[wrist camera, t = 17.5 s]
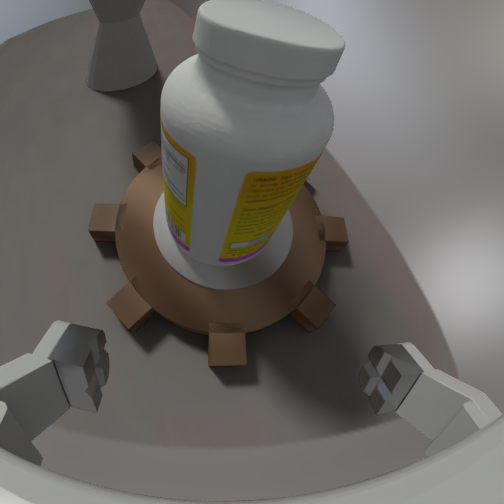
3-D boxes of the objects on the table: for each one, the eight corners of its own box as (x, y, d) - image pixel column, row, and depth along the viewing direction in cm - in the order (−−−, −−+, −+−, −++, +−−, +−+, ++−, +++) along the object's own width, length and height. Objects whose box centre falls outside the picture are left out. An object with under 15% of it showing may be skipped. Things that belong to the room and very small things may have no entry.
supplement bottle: (282, 200, 19) (374, 36, 8) (251, 287, 16) (383, 107, 5) (193, 165, 19) (221, -16, 8) (147, 243, 16) (115, 25, 5)
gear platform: (228, 423, 14) (232, 429, 13) (53, 226, 17) (45, 214, 15) (373, 241, 22) (385, 231, 21) (222, 114, 24) (225, 101, 23)
